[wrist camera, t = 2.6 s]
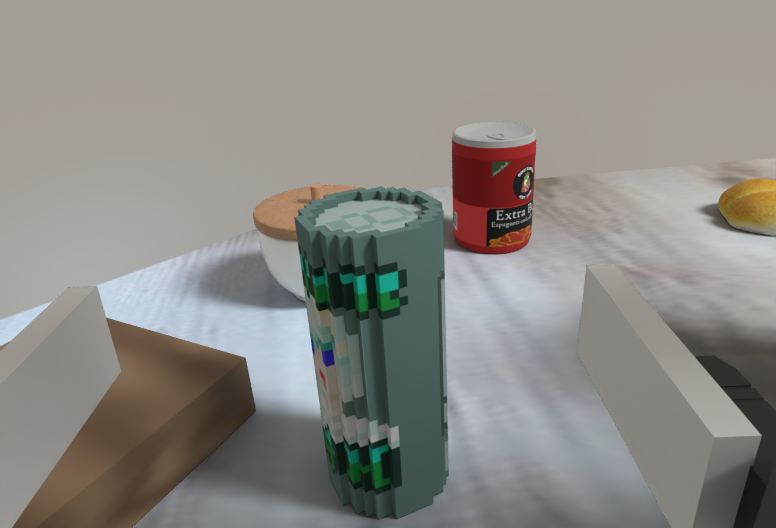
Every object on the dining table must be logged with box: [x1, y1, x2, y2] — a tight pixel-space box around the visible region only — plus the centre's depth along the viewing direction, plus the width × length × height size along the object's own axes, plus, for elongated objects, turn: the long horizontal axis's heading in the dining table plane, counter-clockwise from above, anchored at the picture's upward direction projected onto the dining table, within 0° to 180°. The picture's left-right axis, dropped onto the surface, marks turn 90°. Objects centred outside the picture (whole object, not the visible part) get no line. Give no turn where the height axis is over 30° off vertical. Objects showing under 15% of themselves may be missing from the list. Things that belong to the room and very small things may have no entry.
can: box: [294, 187, 448, 519], centre depth 28 cm, size 6×6×15 cm
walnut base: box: [0, 318, 256, 528], centre depth 33 cm, size 16×16×4 cm
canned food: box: [452, 122, 536, 254], centre depth 57 cm, size 8×8×11 cm
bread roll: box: [718, 179, 776, 236], centre depth 59 cm, size 8×9×4 cm
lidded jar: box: [253, 184, 367, 302], centre depth 50 cm, size 11×11×9 cm
